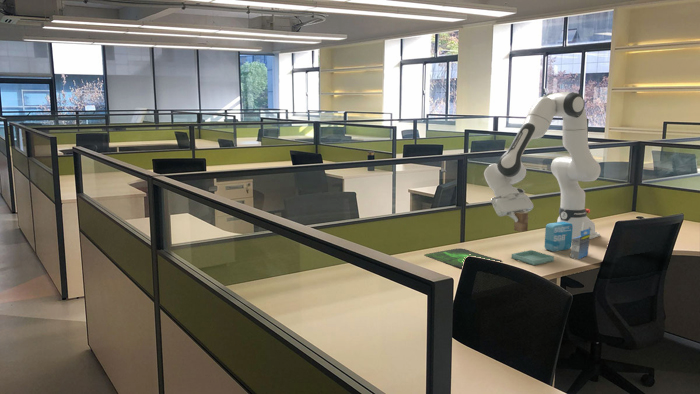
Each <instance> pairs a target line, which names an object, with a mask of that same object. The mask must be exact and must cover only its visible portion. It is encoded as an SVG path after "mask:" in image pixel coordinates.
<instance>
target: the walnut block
mask: <svg viewBox="0 0 700 394" xmlns="http://www.w3.org/2000/svg"><path fill="white" fill-rule="evenodd" d="M514 215H515V216H516V217H519V219H520V221H519V222H515V221H514V220H513V221H514V224H513V226H514V227H513V230H514V231H516V232H519V233H522V232H527V231H528V227H529V226H528V225H529V219H528V218H529V212H527V213H526V212H515V214H514Z"/></svg>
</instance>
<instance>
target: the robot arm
mask: <svg viewBox="0 0 700 394" xmlns="http://www.w3.org/2000/svg"><path fill="white" fill-rule="evenodd" d="M585 103H586V102H585V99H584V97H583V95H582V94H580V93H578V92H575V91H574V92H569V91H568V92H567V91H560V92H549V93H546V94H545V95H544V94H543V96H540V97H538V98H537V99H536V100H535V102H534V103H533V105H532V106H531V108H530V110H528V113H527V114H526V115H527V116H526V117H525V119H524V121H523V122H522V125H521V126H520V128H519V130H518V132H517V133H516V135H515V137H513V138H514V139H513V141H512V142H511V144H510V145H509V147H508V149H507V150H506V151H505V152H504V153H503V154H502V155H501V156H500V157H499V158H498V161H497V163H492V164H489V165H487V167H486V168H485V170H484V171H483V176H484V179H485V182H486V183H487V185H488V187H489V189H491V190H492V192H493V196H494V197H493V196H492V197H491V199H490V203H491V204H492V207H493V209H494V211H495V213H496V215H497V216H498V217H505V216H508V217H509V218H510V219H512V220H513V221H515V222H519V221H520V219H519V217H516V216H515V212H526V213H529V212H531V211H532V210H533V209H534V203H533V202H532V201H531V198H530V197H529V195H528V194H526V191H525V190H524V189H523V188H519V187H516V186H513V185H515V184H518V183H520V182H522V181H523V180H524V179H525V178H526V176H527V168H526V166H525V165H524V164H523V162H522V156H523V154H524V152H525V151H526V149H527V147H528V145H529V143H530V142H531V141H532V140H533V139H535V140H537V139H541V138H542V137H544V136H545V134H547V132H548V130H549V128H550V127H551V124H552V122H553V119H554V117H562V145H563V147H564V149H565V150H566V151H567V152H568V153H569V155H570V156H567V155H563V156H557V157H555V158H554V159H553V160H552V162H551V165H550V171H551V173H552V175H553V176H554V177H555V178H556V180H557V183H558V186H559V191H560V206H559V208H558V215H559V216H558V217H557V221H556V222H567V223H571V224H572V226H573V228H572V239H574V238H576V237H579V236H581V235H580V231H583V230H586V229H589V228H590V237H589V240H592V239H595V238H598V237H600V236H601V234H600V232H596V224H595V223H594V221H592V220H591V219H590V218H589V217H588V216H587V214H590V212H591V209H589V208H585V207H586V191H584V189H583V188H581V186H580V183H579V182H584V183H585V182H594V181H596V180H597V179H599V177H600V175H601V171H602V168H601V165H600V163H599V162H598V161H597V160H596V159H595V157H593V155H592V152H591V150H590V147H589V140H588V137H589V135H588V118H587V112H586V109H585ZM529 219H530V218H529V217H528V220H529ZM586 233H587V232H585V233H584V234H586Z"/></svg>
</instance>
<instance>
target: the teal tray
mask: <svg viewBox="0 0 700 394" xmlns="http://www.w3.org/2000/svg"><path fill="white" fill-rule="evenodd" d="M511 259H512V260H514V261H519V262H522V263H525V264H528V265H531V266H538V265H542V264H546V263H551V262H555V256H553V255H549V254H546V253H543V252H540V251H536V250H532V249H530V250H526V251H525V250H524V251H520V252H515V253H511Z"/></svg>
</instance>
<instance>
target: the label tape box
mask: <svg viewBox="0 0 700 394" xmlns="http://www.w3.org/2000/svg"><path fill="white" fill-rule="evenodd" d="M585 232H587V233H586V234H584V233H585ZM580 235H581V236H579V237H576V238H574V239H572V243H571V248H570V258H572V259H574V258H575V260H580V259H582V258H584V257H586V256H589V245H590V239H589V237H590V228H589V229H586V230H583V231H580Z"/></svg>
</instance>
